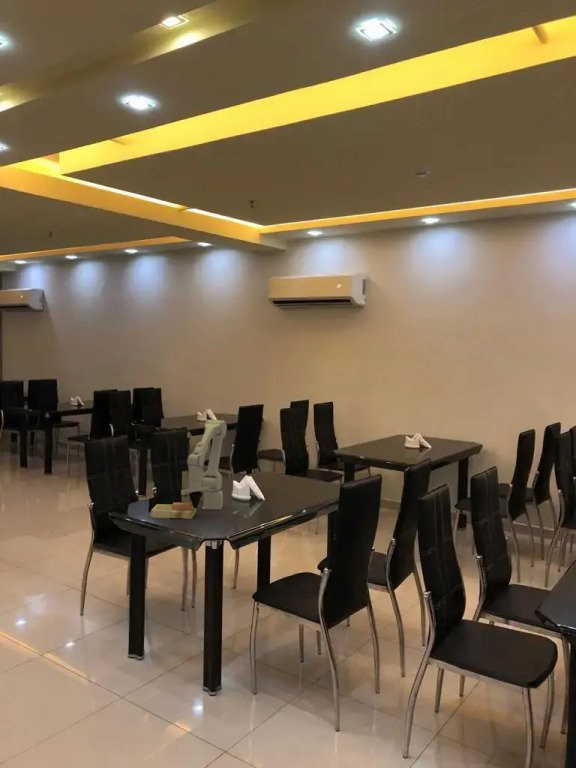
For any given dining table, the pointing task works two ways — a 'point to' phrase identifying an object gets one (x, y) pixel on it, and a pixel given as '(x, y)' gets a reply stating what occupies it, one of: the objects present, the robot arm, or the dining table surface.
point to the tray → (161, 511)
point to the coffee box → (186, 486)
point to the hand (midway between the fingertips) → (195, 507)
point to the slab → (183, 513)
